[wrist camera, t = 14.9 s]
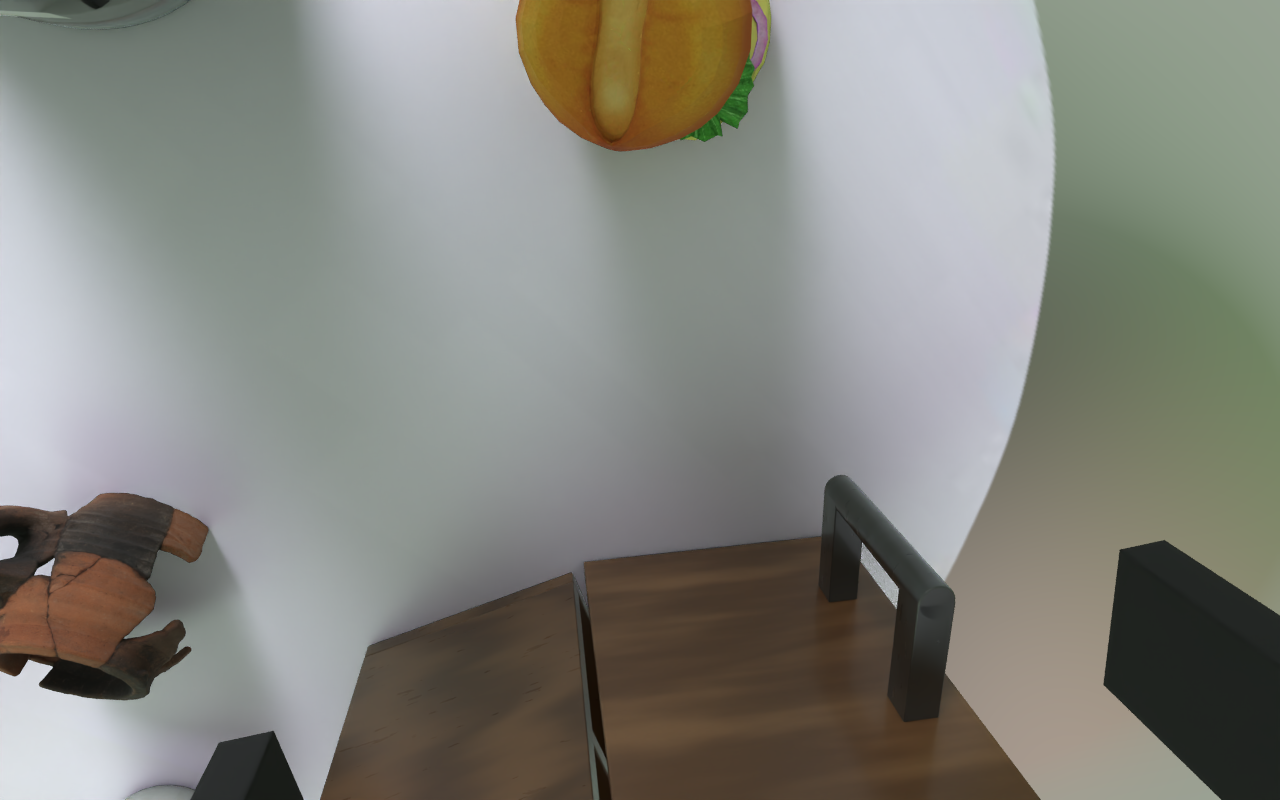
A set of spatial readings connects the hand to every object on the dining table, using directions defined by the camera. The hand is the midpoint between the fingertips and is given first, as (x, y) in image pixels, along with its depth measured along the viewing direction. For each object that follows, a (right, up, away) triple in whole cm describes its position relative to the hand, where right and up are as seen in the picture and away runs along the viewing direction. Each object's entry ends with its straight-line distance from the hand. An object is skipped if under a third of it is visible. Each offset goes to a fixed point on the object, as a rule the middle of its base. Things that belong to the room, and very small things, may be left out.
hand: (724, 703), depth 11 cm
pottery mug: (-30, -4, +28) cm, 41 cm away
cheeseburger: (-1, +22, +23) cm, 32 cm away
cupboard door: (+3, -2, +32) cm, 32 cm away
